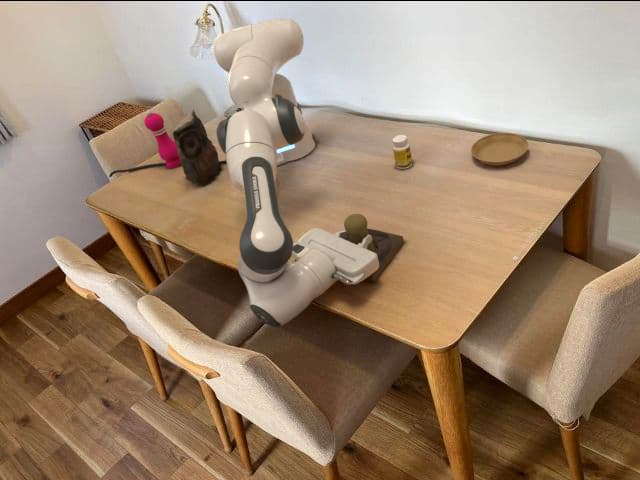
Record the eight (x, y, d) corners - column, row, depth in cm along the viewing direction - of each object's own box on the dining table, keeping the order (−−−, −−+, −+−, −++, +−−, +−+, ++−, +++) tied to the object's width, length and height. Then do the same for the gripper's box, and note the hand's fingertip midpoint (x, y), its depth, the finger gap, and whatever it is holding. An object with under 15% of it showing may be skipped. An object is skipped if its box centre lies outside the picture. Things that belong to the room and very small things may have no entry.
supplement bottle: (411, 168, 139) (407, 142, 134) (395, 170, 141) (389, 143, 135) (413, 159, 143) (409, 133, 137) (397, 160, 144) (392, 134, 139)
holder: (322, 268, 117) (320, 262, 115) (354, 230, 124) (352, 224, 123) (374, 283, 109) (372, 276, 108) (404, 242, 117) (403, 235, 116)
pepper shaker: (350, 250, 119) (339, 213, 112) (375, 244, 119) (366, 207, 112) (352, 266, 115) (341, 229, 108) (378, 260, 114) (368, 223, 107)
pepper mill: (190, 158, 175) (163, 104, 162) (177, 169, 171) (148, 115, 158) (175, 157, 178) (147, 104, 165) (162, 168, 174) (132, 115, 161)
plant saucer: (460, 159, 137) (459, 151, 136) (496, 135, 142) (496, 127, 141) (502, 176, 127) (502, 168, 126) (540, 150, 132) (540, 141, 131)
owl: (221, 161, 168) (195, 105, 155) (231, 175, 159) (205, 117, 146) (185, 176, 166) (157, 121, 152) (194, 192, 157) (164, 135, 143)
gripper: (348, 276, 99) (393, 236, 105) (284, 243, 111) (327, 209, 117) (355, 298, 103) (398, 258, 109) (293, 264, 115) (334, 230, 122)
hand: (361, 233), depth 113 cm, fingers closed on pepper shaker, 4 cm apart
